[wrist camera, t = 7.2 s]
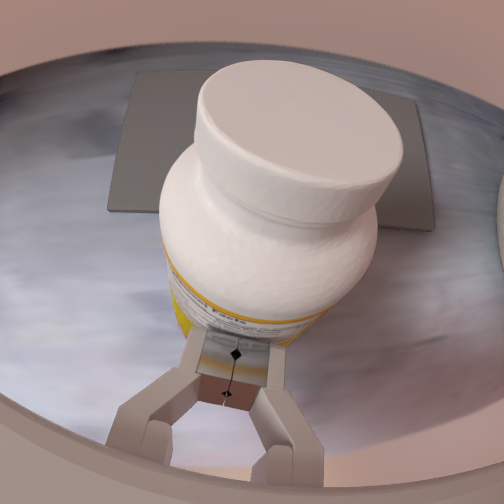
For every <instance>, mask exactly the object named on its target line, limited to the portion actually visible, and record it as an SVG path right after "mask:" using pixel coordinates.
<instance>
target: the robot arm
mask: <svg viewBox="0 0 504 504" xmlns="http://www.w3.org/2000/svg"><path fill="white" fill-rule="evenodd" d="M285 365H286V348H285V346H280V345H274V344H269V343H266V342H261V341H255V340H250V339H245V338H240V337H239V339H238V338H237V337H233V336H229V335H225V334H221V333H217V332H214V331H210V330H206V329H202V328H198V327H194V326H192V328H191V329H190V332H189V335H188V338H187V341H186V344H185V348H184V351H183V354H182V357H181V360H180V364H179V367H178V368H175V367H173V368H172V369H170V370H169V371H168V372H166V373H165V374H164V375H162V376H161V377H160V378H158V379H157V380H155V381H154V382H153V383H151V384H150V385H149V386H147V387H146V388H145V389H143V390H142V391H140V392H139V393H138V394H136V395H135V396H134V397H132V398H131V399H129V400H128V401H127V402H125V403H124V404H122V405H121V406H120V407H119V409H118V411H117V414H116V417H115V419H114V422H113V425H112V427H111V430H110V433H109V436H108V439H107V441H106V444H105V445H103V444H101V443H98V442H96V441H93V440H91V439H89V438H86V437H84V436H81V435H79V434H77V433H75V432H72V431H70V430H68V429H66V428H64V427H62V426H59V425H57V424H55V423H53V422H51V421H49V420H47V419H45V418H43V417H41V416H40V415H38V414H36V413H34V412H32V411H30V410H28V409H27V408H25V407H23V406H21V405H20V404H18V403H16V402H15V401H13V400H11V399H9V398H8V397H6V396H5V395H3V394H1V393H0V504H504V462H500V463H497V464H493V465H490V466H487V467H483V468H479V469H476V470H472V471H468V472H464V473H459V474H455V475H450V476H445V477H440V478H434V479H428V480H422V481H416V482H408V483H400V484H391V485H379V486H365V487H364V486H363V487H323V480H324V479H323V478H324V447H323V446H322V444H321V443H320V441H319V440H318V438H317V436H316V435H315V433H314V432H313V430H312V428H311V427H310V425H309V424H308V422H307V420H306V419H305V417H304V416H303V414H302V412H301V411H300V409H299V407H298V406H297V404H296V403H295V401H294V399H293V398H292V396H291V394H290V393H289V391H284V385H285ZM224 400H225V401H224ZM197 401H202V402H207V403H212V404H217V405H222V406H223V403H224V406H226V407H231V408H235V409H240V410H245V411H249V415H250V417H251V419H252V421H253V424H254V426H255V428H256V430H257V432H258V435H259V437H260V439H261V441H262V443H263V446H264V448H265V450H266V453H265V454H264V455H263V456H262V457H261V458H260V459H259V460H258V461H257V462H256V463H255V464H254V465H253V466H252V474H251V481H250V482H248V481H241V480H234V479H228V478H222V477H216V476H211V475H206V474H201V473H197V472H192V471H188V470H184V469H180V468H176V467H172V466H169V465H170V461H171V457H172V452H173V443H172V428H171V426H172V425H173V424H174V423H175V422H176V421H177V420H178V419H179V418H180V417H182V416H183V415H184V414H185V413H186V412H187V411H188V410H189V409H190V408H191V407H192V406H193V405H194V404H195V403H196V402H197Z"/></svg>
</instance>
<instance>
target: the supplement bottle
mask: <svg viewBox="0 0 504 504" xmlns="http://www.w3.org/2000/svg"><path fill="white" fill-rule="evenodd" d="M402 159H403V143H402V138H401V135H400V133H399V131H398V128H397V127H396V125H395V123H394V122H393V120H392V119H391V117H390V116H389V114H388V113H387V112H386V111H385V110H384V109H383V108H382V107H381V106H380V105H379V104H378V103H377V102H376V101H375V100H374V99H373V98H371V97H370V96H369V95H367V94H366V93H365V92H363V91H362V90H361V89H359V88H358V87H356V86H355V85H353V84H351V83H349V82H347V81H345V80H343V79H341V78H339V77H337V76H334V75H332V74H330V73H327V72H325V71H322V70H320V69H317V68H314V67H311V66H307V65H303V64H299V63H294V62H288V61H277V60H253V61H245V62H240V63H236V64H233V65H230V66H227V67H225V68H222V69H220V70H219V71H217V72H216V73H214V74H213V75H212V76H211V77H210V78H208V79H207V80H206V82H205V83H204V84H203V86H202V87H201V90H200V92H199V96H198V103H197V115H196V127H195V131H194V143H193V144H192V145H191V146H189V147H188V148H187V149H186V150H185V151H184V152H183V153H182V154H181V155H180V157H179V158H178V159H177V160H176V161H175V163H174V164H173V166H172V167H171V169H170V171H169V173H168V175H167V177H166V179H165V182H164V185H163V188H162V192H161V197H160V204H159V219H160V228H161V235H162V241H163V247H164V253H165V259H166V264H167V270H168V277H169V282H170V288H171V293H172V299H173V304H174V309H175V314H176V318H177V322H178V325H179V327H180V330H181V332H182V334H183V336H184V337H185V339H186V340H187V338H188V335H189V332H190V329H191V328H192V326H194V327H198V328H202V329H206V330H210V331H214V332H217V333H221V334H225V335H229V336H233V337H237V338H238V339H239V337H240V338H245V339H250V340H255V341H261V342H266V343H269V344H274V345H280V346H285V347H287V346H288V345H289V344H290V343H292V342H293V341H294V340H295V339H296V338H297V337H298V336H300V335H301V334H302V333H303V332H304V331H306V330H307V329H308V328H309V327H310V326H311V325H312V324H314V323H315V322H316V321H317V320H318V319H319V318H320V317H321V316H323V315H324V314H325V313H326V312H327V311H328V310H329V309H330V308H332V307H333V306H334V305H335V304H336V303H337V302H338V301H340V300H341V299H342V298H343V297H344V296H345V295H346V294H347V293H348V292H349V291H350V290H351V289H352V288H353V287H354V286H355V285H356V284H357V283H358V282H359V281H360V279H361V278H362V277H363V275H364V273H365V272H366V270H367V268H368V267H369V265H370V263H371V260H372V257H373V254H374V251H375V247H376V243H377V230H378V223H377V215H376V209H375V204H376V203H377V202H378V200H379V199H380V197H381V196H382V194H383V193H384V191H385V190H386V188H387V186H388V185H389V183H390V182H391V180H392V179H393V177H394V176H395V174H396V173H397V171H398V169H399V167H400V165H401V162H402Z"/></svg>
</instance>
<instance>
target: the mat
mask: <svg viewBox="0 0 504 504" xmlns="http://www.w3.org/2000/svg"><path fill="white" fill-rule="evenodd" d="M217 71H219V70H171V71H151V72H138V73H137V77H136V80H135V83H134V87H133V90H132V93H131V97H130V101H129V104H128V108H127V112H126V116H125V120H124V124H123V128H122V132H121V136H120V141H119V145H118V150H117V155H116V159H115V165H114V170H113V175H112V181H111V186H110V192H109V198H108V205H107V210H108V211H109V212H133V213H159V204H160V197H161V192H162V188H163V185H164V182H165V179H166V177H167V175H168V173H169V171H170V169H171V167H172V166H173V164H174V163H175V161H176V160H177V159H178V158H179V157H180V155H181V154H182V153H183V152H184V151H185V150H186V149H187V148H188V147H189V146H191V145H192V144H193V143H194V131H195V127H196V115H197V103H198V96H199V92H200V90H201V87H202V86H203V84H204V83H205V82H206V80H207V79H208V78H210V77H211V76H212V75H213V74H214V73H216V72H217ZM356 87H357V86H356ZM358 88H359V89H361V90H362V91H363V92H365V93H366V94H367V95H369V96H370V97H371V98H373V99H374V100H375V101H376V102H377V103H378V104H379V105H380V106H381V107H382V108H383V109H384V110H385V111H386V112H387V113H388V114H389V116H390V117H391V119H392V120H393V122H394V123H395V125H396V127H397V128H398V131H399V133H400V135H401V138H402V143H403V159H402V162H401V165H400V167H399V169H398V171H397V173H396V174H395V176H394V177H393V179H392V180H391V182H390V183H389V185H388V186H387V188H386V190H385V191H384V193H383V194H382V196H381V197H380V199H379V200H378V202H377V203H376V204H375V209H376V215H377V223H378V227H388V228H399V229H409V230H419V231H429V232H431V231H434V230H435V223H434V212H433V202H432V193H431V185H430V178H429V171H428V165H427V159H426V153H425V147H424V142H423V137H422V132H421V127H420V123H419V118H418V114H417V110H416V105H415V101H413V100H410V99H406V98H403V97H399V96H395V95H392V94H388V93H384V92H380V91H375V90H371V89H367V88H362V87H358Z"/></svg>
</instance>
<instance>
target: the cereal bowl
mask: <svg viewBox="0 0 504 504" xmlns="http://www.w3.org/2000/svg"><path fill="white" fill-rule="evenodd" d="M497 200H498V203H497V233H498V245H499V251H500V257H501V262H502V266H503V271H504V174H503V176H502V181H501V183H500V189H499V193H498V199H497Z"/></svg>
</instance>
